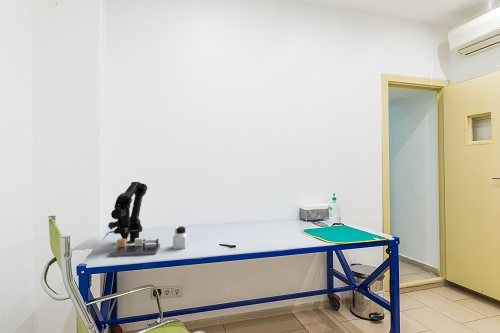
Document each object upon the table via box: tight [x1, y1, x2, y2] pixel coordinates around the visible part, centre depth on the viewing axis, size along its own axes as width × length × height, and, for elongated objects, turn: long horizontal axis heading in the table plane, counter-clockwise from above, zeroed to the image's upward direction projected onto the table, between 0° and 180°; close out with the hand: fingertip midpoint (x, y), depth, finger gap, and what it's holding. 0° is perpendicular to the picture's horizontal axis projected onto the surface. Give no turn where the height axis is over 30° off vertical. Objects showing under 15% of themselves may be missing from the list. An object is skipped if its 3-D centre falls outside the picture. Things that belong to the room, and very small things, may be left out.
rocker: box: [143, 239, 156, 244], centre depth 156 cm, size 11×6×1 cm, turn 9°
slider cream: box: [134, 237, 144, 246], centre depth 159 cm, size 3×4×4 cm
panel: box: [108, 238, 161, 258], centre depth 155 cm, size 14×24×7 cm, turn 99°
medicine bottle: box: [172, 226, 188, 250], centre depth 163 cm, size 7×7×12 cm
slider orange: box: [116, 238, 127, 247], centre depth 158 cm, size 3×4×4 cm
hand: (124, 242), depth 163 cm, fingers closed
